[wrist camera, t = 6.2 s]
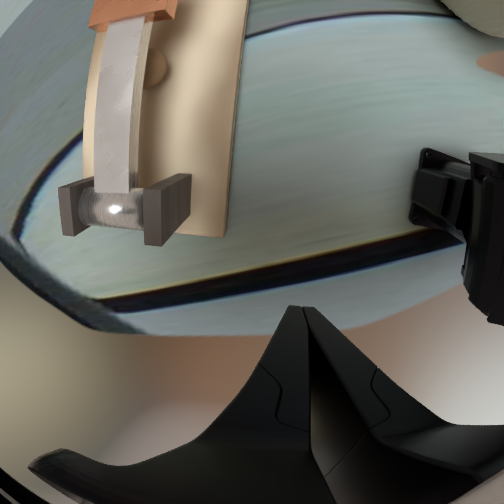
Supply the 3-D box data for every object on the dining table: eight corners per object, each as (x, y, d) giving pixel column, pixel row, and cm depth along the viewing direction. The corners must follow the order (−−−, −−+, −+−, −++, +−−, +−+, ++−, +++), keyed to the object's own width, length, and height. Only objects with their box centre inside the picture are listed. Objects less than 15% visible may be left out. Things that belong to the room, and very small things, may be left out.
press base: (253, -25, 13) (247, -78, 6) (225, 231, 21) (207, 277, 14) (117, -9, 13) (74, -40, 6) (95, 219, 21) (42, 252, 15)
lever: (187, -24, 9) (176, -42, 7) (161, 223, 16) (146, 237, 14) (117, -11, 9) (101, -23, 7) (96, 217, 16) (76, 230, 14)
